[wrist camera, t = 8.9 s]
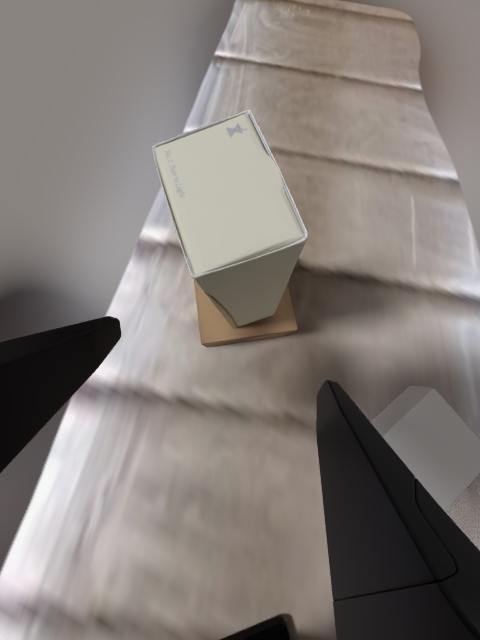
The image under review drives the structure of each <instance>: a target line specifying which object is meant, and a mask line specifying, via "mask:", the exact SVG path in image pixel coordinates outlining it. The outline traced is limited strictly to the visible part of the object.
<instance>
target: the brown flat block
mask: <svg viewBox="0 0 480 640" xmlns="http://www.w3.org/2000/svg"><path fill="white" fill-rule="evenodd" d="M194 283H195V292H196V301H197V310H198V320H199V329H200V338H201V344H202V345H204V346H205V347H212V346H219V345H226V344H232V343H239V342H246V341H252V340H259V339H266V338H272V337H279V336H285V335H289V334H291V333H293V332H294V331H296V330H298V328H297V323H296V319H295V314H294V309H293V305H292V300H291V296H290V291H289V286H288V284H287V286H286V288H285V290H284V293H283V295H282V297H281V300H280V302H279V304H278V307H277V309H276V311H275V313H274V315H272V316H269V317H266V318H263V319H260V320H257V321H254V322H251V323H248V324H245V325H242V326H239V327H236V328H232V327H231V326H230V325H229V324H228V322H227V321H226V320H225V319H224V317H223V316H222V315H221V313H220V312H219V311H218V310H217V308H216V307H215V306H214V304H213V303H212V302H211V301H210V299H209V298H208V297H207V295H206V294H205V293H204V291H203V290H202V289H201V288H200V286H199V285H198V284H197V283H196V281H195V280H194Z"/></svg>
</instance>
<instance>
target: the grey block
mask: <svg viewBox="0 0 480 640" xmlns="http://www.w3.org/2000/svg"><path fill="white" fill-rule="evenodd" d="M370 422H371V424H372V425H373V426H374V427H375V428H376V430H377V431H378V432H379V433H380V434H381V436H382V437H383V438H384V439H385V440H386V442H387V443H388V444H389V445H390V447H391V448H392V449H393V450H394V451H395V453H396V454H397V455H398V456H399V457H400V459H401V460H402V461H403V462H404V463H405V465H406V466H407V467H408V468H409V469H410V471H411V472H412V473H413V474H414V476H415V478H417V479H418V480H419V481H420V483H421V484H422V485H423V486H424V487H425V489H426V490H427V491H428V492H429V494H430V495H431V496H432V497H433V498H434V499H435V501H436V502H437V503H438V504H439V505H440V506H441V508H442V509H443V510H444V511H445V512H446V510H447V509H448V508H449V507H450V506H451V505H452V504H453V503H454V502H455V500H456V499H457V498H458V497H459V496H460V495H461V494H462V493H463V492H464V491H465V489H466V488H467V487H468V486H469V485H470V484H471V483H472V482H473V481H474V480H475V478H476V477H477V476H478V475H479V474H480V438H479V437H478V436H477V435H476V434H475V432H474V431H473V430H472V429H471V428H470V427H469V426H468V425H467V424H466V422H465V421H464V420H463V419H462V418H461V417H460V416H459V415H458V414H457V413H456V411H455V410H454V409H453V408H452V407H451V406H450V405H449V404H448V403H447V402H446V400H445V399H444V398H443V397H442V396H441V395H440V394H439V393H438V392H437V391H436V389H435V388H432V387H423V386H414V385H409V386H408V387H407V388H406V389H405V390H404V391H403V392H402V393H401V394H400V395H399V396H398V397H396V398H395V399H394V400H393V401H392V402H391V403H390V404H389V405H388V406H387V407H386V408H385V409H383V410H382V411H381V412H380V413H379V414H378V415H377V416H376V417H375V418H374V419H373V420H372V421H370Z"/></svg>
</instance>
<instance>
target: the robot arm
mask: <svg viewBox="0 0 480 640" xmlns="http://www.w3.org/2000/svg"><path fill="white" fill-rule="evenodd" d="M120 338H121V328H120V321H119V320H118V319H117V318H114V317H110V316H107V317H103V318H99V319H94V320H90V321H86V322H82V323H78V324H74V325H69V326H65V327H61V328H57V329H52V330H48V331H44V332H40V333H36V334H32V335H28V336H23V337H19V338H15V339H11V340H7V341H2V342H0V473H1V472H2V471H3V470H4V469H5V468H6V467H7V466H8V465H9V463H10V462H11V461H12V460H13V459H14V458H15V457H16V456H17V455H18V454H19V453H20V452H21V451H22V449H23V448H24V447H25V446H26V445H27V444H28V443H29V442H30V441H31V440H32V439H33V438H34V437H35V435H36V434H37V433H38V432H39V431H40V430H41V429H42V428H43V427H44V426H45V425H46V424H47V422H48V421H49V420H50V419H51V418H52V417H53V416H54V415H55V414H56V413H57V411H58V410H59V409H60V408H61V407H62V406H63V405H64V404H65V403H66V402H67V401H68V400H69V399H70V398H71V397H72V395H73V394H74V393H75V392H76V391H77V390H78V389H79V388H80V387H81V386H82V385H83V384H84V382H85V381H86V380H87V379H88V378H89V377H90V376H91V375H92V374H93V373H94V372H95V371H96V369H97V368H98V367H99V366H100V365H101V363H102V362H103V361H104V359H105V358H106V357H107V355H108V354H109V353H110V351H111V350H112V349H113V347H114V346H115V345H116V343H117V342H118V341H119V339H120ZM316 432H317V446H318V456H319V466H320V475H321V485H322V495H323V505H324V515H325V525H326V535H327V545H328V555H329V565H330V575H331V585H332V595H333V600H334V601H333V607H334V616H335V626H336V636H337V640H480V551H479V549H478V548H477V547H476V546H475V545H474V544H473V543H472V542H471V541H470V539H469V538H468V537H467V536H466V535H465V534H464V533H463V532H462V530H461V529H460V528H459V527H458V526H457V525H456V524H455V523H454V521H453V520H452V519H451V518H450V517H449V516H448V515H447V514H446V512H445V511H444V510H443V509H442V508H441V506H440V505H439V504H438V503H437V502H436V501H435V499H434V498H433V497H432V496H431V495H430V494H429V492H428V491H427V490H426V489H425V487H424V486H423V485H422V484H421V483H420V481H419V480H418V479H417V478H415V476H414V474H413V473H412V472H411V471H410V469H409V468H408V467H407V466H406V465H405V463H404V462H403V461H402V460H401V459H400V457H399V456H398V455H397V454H396V453H395V451H394V450H393V449H392V448H391V447H390V445H389V444H388V443H387V442H386V440H385V439H384V438H383V437H382V436H381V434H380V433H379V432H378V431H377V430H376V428H375V427H374V426H373V425H372V424H371V422H370V421H369V420H368V419H367V418H366V416H365V415H364V414H363V413H362V411H361V410H360V409H359V408H358V407H357V405H356V404H355V403H354V402H353V401H352V399H351V398H350V397H349V396H348V395H347V393H346V392H345V391H344V390H343V389H342V387H341V386H340V385H339V384H338V383H337V382H334V381H331V380H326V381H325V382H324V384H323V385H322V387H321V388H320V390H319V392H318V394H317V422H316ZM280 627H282V629H279V628H280ZM226 640H291V639H290V635H289V632H288V628H287V624H286V622H285V620H284V619H283V618H281V617H279V618H276V619H274V620H272V621H269V622H267V623H264V624H262V625H260V626H257V627H255V628H253V629H250V630H248V631H245V632H243V633H241V634H238V635H236V636H234V637H231V638H229V639H226Z"/></svg>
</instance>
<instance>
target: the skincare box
mask: <svg viewBox="0 0 480 640" xmlns="http://www.w3.org/2000/svg"><path fill="white" fill-rule="evenodd" d="M152 150H153V154H154V159H155V163H156V167H157V171H158V174H159V177H160V182H161V185H162V188H163V192H164V195H165V198H166V202H167V205H168V208H169V211H170V214H171V217H172V220H173V224H174V227H175V230H176V233H177V236H178V239H179V242H180V245H181V248H182V251H183V254H184V257H185V260H186V262H187V265H188V268H189V271H190V273H191V276H192V278H193V279H194V280H195V281H196V283H197V284H198V285H199V286H200V288H201V289H202V290H203V291H204V293H205V294H206V295H207V297H208V298H209V299H210V301H211V302H212V303H213V304H214V306H215V307H216V308H217V310H218V311H219V312H220V313H221V315H222V316H223V317H224V319H225V320H226V321H227V322H228V324H229V325H230V326H231V327H232V328H236V327H239V326H242V325H245V324H248V323H251V322H254V321H257V320H260V319H263V318H266V317H269V316H272V315H274V313H275V311H276V309H277V307H278V304H279V302H280V300H281V297H282V295H283V293H284V290H285V288H286V286H287V284H288V281H289V279H290V277H291V274H292V272H293V269H294V267H295V265H296V263H297V260H298V258H299V255H300V253H301V251H302V249H303V246H304V244H305V242H306V240H307V237H308V233H307V230H306V228H305V226H304V223H303V221H302V219H301V216H300V214H299V212H298V209H297V207H296V205H295V203H294V201H293V198H292V196H291V194H290V191H289V189H288V187H287V185H286V182H285V180H284V178H283V176H282V173H281V171H280V169H279V167H278V165H277V163H276V161H275V159H274V157H273V155H272V153H271V151H270V149H269V147H268V145H267V143H266V141H265V139H264V136H263V134H262V132H261V130H260V129H259V126H258V124H257V122H256V120H255V118H254V116H253V114H252V112H251V110H249V109H248V110H246V111H244V112H241V113H239V114H236V115H233V116H230V117H227V118H225V119H222V120H219V121H216V122H214V123H211V124H208V125H205V126H203V127H200V128H197V129H194V130H192V131H189V132H186V133H183V134H181V135H179V136H176V137H173V138H171V139H168V140H165V141H162V142H160V143H157V144H155V145H153V147H152Z"/></svg>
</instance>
